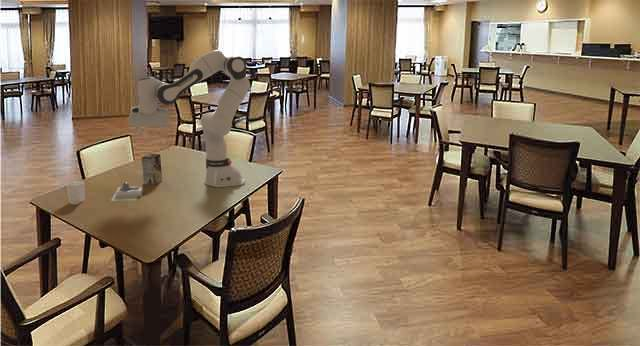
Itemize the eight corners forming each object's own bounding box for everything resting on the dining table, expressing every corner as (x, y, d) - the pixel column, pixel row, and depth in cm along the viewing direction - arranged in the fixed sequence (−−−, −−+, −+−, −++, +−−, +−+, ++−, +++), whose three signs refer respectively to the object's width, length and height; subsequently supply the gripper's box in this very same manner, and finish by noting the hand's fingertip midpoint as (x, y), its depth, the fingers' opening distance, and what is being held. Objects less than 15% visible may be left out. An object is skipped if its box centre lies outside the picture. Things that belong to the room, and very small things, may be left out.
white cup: (72, 199, 252) (69, 180, 249) (88, 199, 253) (86, 180, 250) (65, 205, 244) (63, 185, 242) (82, 205, 245) (80, 185, 242)
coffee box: (152, 180, 286) (150, 153, 281) (162, 181, 284) (160, 154, 280) (143, 185, 277) (141, 157, 273) (154, 186, 276) (152, 158, 271)
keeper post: (129, 193, 260) (128, 181, 258) (129, 195, 257) (128, 183, 256) (123, 193, 260) (122, 181, 258) (122, 195, 257) (121, 183, 255)
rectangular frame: (143, 191, 264) (142, 186, 263) (141, 196, 256) (141, 190, 255) (118, 192, 261) (118, 187, 260) (116, 197, 254) (115, 191, 253)
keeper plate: (141, 190, 268) (140, 188, 268) (136, 201, 252) (136, 199, 251) (117, 191, 266) (116, 189, 266) (110, 202, 249) (110, 200, 249)
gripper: (169, 107, 268) (170, 133, 271) (128, 107, 263) (130, 133, 267) (168, 109, 262) (170, 135, 265) (126, 109, 257) (128, 136, 261)
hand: (150, 134), depth 266 cm, fingers open, 8 cm apart
